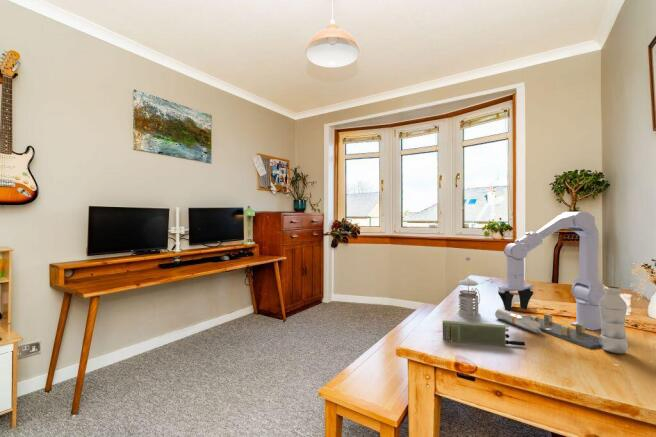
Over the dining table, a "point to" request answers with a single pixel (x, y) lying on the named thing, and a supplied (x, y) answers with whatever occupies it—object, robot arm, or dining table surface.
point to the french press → (468, 299)
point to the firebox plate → (573, 335)
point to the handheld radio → (477, 333)
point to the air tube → (519, 321)
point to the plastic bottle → (613, 321)
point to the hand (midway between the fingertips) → (515, 309)
